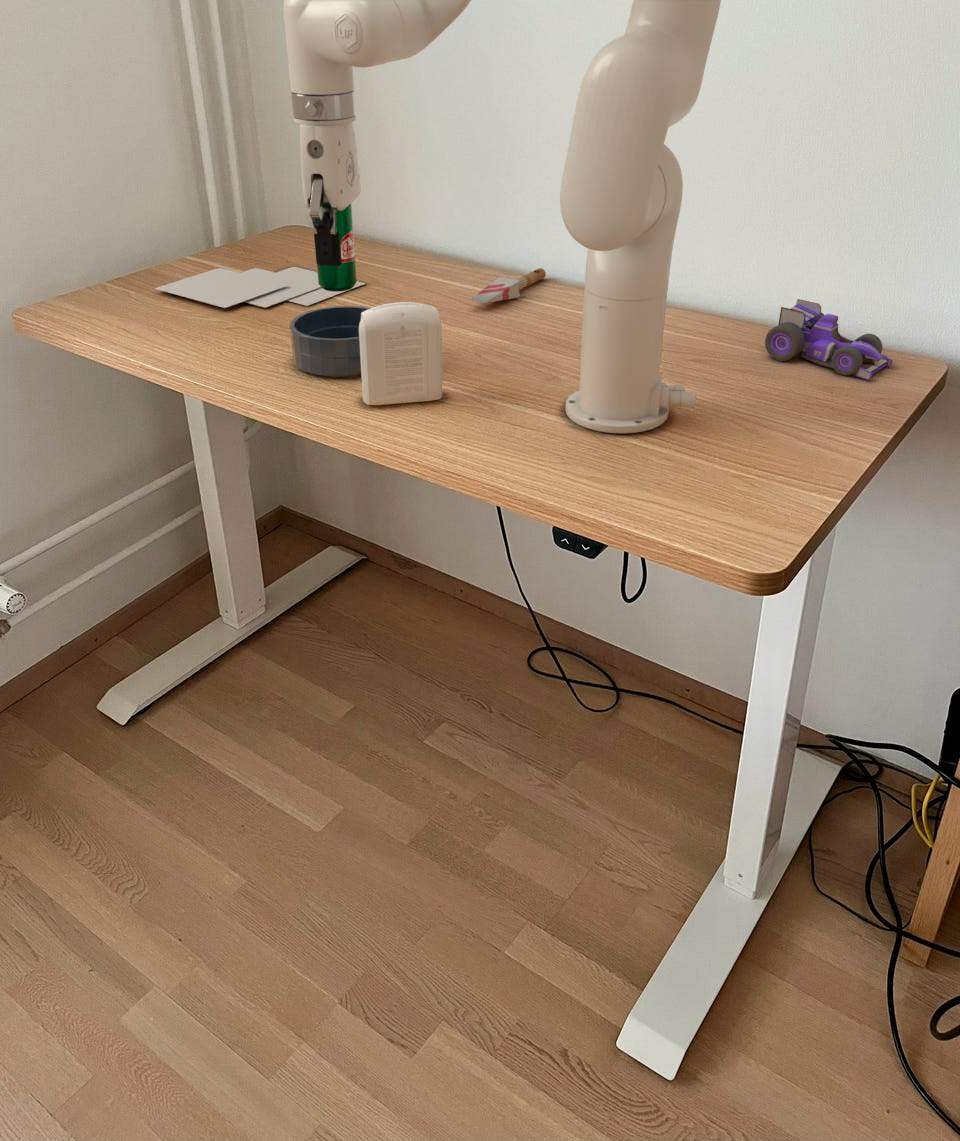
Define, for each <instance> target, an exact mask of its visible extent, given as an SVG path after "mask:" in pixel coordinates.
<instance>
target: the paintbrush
mask: <svg viewBox="0 0 960 1141" xmlns="http://www.w3.org/2000/svg"><path fill="white" fill-rule="evenodd" d="M546 276H547V273H546V270H545V269H544V268H541V267H539V268H536V269H534V270H533V271H530V272H528V273H525V274H523V275H520V276H518V277H515V278H511V277H505V276H502V275H501V276H499V277H497V278H496V279H495V280H494V281H492V282H491V283H490V284H488V285H487V286H486V287H485V288H483V289H482V290H480V291H479V292H478V293H476V294H475V295H474V296H473V297H471V298H470V299H469V300H470V301H474V302H479V303H483V304H486V303H493V302H499V301H505V300H512V299H518V298H521V294H520V290H521V289H523V288H525V287H528V286H531V285H532V284H534V283H537V282H538V281H541V280H543V279H545V278H546Z"/></svg>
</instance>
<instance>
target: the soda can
mask: <svg viewBox="0 0 960 1141" xmlns="http://www.w3.org/2000/svg"><path fill="white" fill-rule="evenodd" d="M323 208H331V205H330V203H323ZM324 216H327V217H328V219H329V221H330V213H324ZM353 222H354V220H353V206H352V203H351V204H350V205H349V206H347V207H346V208H345V209H344V210H342V211H339V210H338V209H337V233H340V245H341V259H342V264H341V265H340V266H322V265H318V264H317V262H316V261H315V262H316V263H315V264H316V272H317V275H318V284H319V285H320V286H321V288H323V289H324V290H327V291H334V292H338V291H345V292H347V291H346V290H348V291H350V290H352V289H351V288H353V287H354V286H355V284H356V282H357V280H358V279H357V266H356V265H357V264H356V253H355V237H354V223H353ZM313 241H314V242H315V240H313ZM314 251H315V250H314ZM315 253H316V251H315ZM349 289H350V290H349ZM353 289H354V288H353Z"/></svg>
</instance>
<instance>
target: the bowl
mask: <svg viewBox="0 0 960 1141" xmlns="http://www.w3.org/2000/svg"><path fill="white" fill-rule="evenodd" d="M371 308H372V307H367V306H366V307H365V306H357V305H339V306H336V305H335V306H328V307H327V306H326V307H320V308H316V309H311V310H308V311H306V312H303V313H301V314H299V315H296V316H295V317H293V319H292V320H291V321H290V322H289V331H290V342H291V350H292V360H293V364H294V365H295V366H296V367H297V368H298V369H300V370H302V371H303V372H307V373H309V374H312V375H317V376H321V377H330V378H348V377H357V376H361V359H360V342H359V324H360V321H361V313H362V312H364V311H366V310H368V309H371Z"/></svg>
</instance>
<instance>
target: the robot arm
mask: <svg viewBox="0 0 960 1141" xmlns="http://www.w3.org/2000/svg"><path fill="white" fill-rule="evenodd" d="M471 1H472V0H283V4H282V10H283V22H284V24H283V25H284V33H285V43H286V54H287V65H288V66H287V67H288V75H289V85H290V87H289V88H290V96H291V106H292V107H291V108H292V118H293V122H294V123H295V124H298V125H299V146H300V148H299V149H300V169H301V184H302V192H303V200H304V205H305V206H306V207H307V208H308V209H309V212H308V213H309V218H310V219H311V223H312V233H313V237H314V240H315V241H314V240H313V241H314V251H316V252H315V262H317V264H318V265H322V266H340V265H341V264H342V259H341V245H340V233H337V209H338V210H339V211H342V210H344V209H345V208H346V207H347V206H349V205H350V204H351V205H352V203H353V202H355V200H357V198H358V197H359V196H360V194H361V179H360V168H359V158H358V150H357V143H356V135H355V128H354V122H355V121H357V120H356V118H357V117H356V116H357V115H356V102H355V87H354V86H355V85H354V72H353V70H354V69H353V67H354V68H371V67H376V66H381V65H384V64H387V63H391V62H396V61H401V60H407V59H409V58H412V57H414V56H415V55H418V54H419V53H420V52H422V51H424V50H425V49H426V48H427V47H428V46H429V45H431V44H432V43H433V42H434V41H435V40H436V39H437V38H438V37H439V36H440V35H441V34H442V33H443V32H444V31H446V30H447V29H448V27H450V25H452V24H453V23H454V22H455V21H456V20H457V19H458V18H459V16H461V15H462V13H463V12H464V11H465V9H466V8H467V7H468V6H469V5H470V3H471ZM721 3H722V0H633V2H632V5H631V10H630V13H629V18H628V20H627V25H626V28H625V31H624V34H623V35H621V36H618V37H616V38H614V39H612V40H611V41H610V42H608V43H606V44H605V45H604V46H603V47H602V48H600V49H599V50H598V52H596V54H595V56H594V57H593V58H592V59H591V61H590V63H589V65H588V67H587V69H586V71H585V73H584V76H583V78H582V81H581V84H580V87H579V91H578V95H577V100H576V105H575V110H574V115H573V121H572V126H571V131H570V135H569V140H568V146H567V150H566V155H565V156H566V157H565V161H564V162H565V163H564V167H563V172H562V178H561V184H560V193H559V206H560V214H561V218H562V222H563V223H564V227H565V229H566V230H567V232H568V233H569V235H570V236H571V237H572V238H573V239H574V241H576V242H577V243H578V244H579V245H581V246H583V247H584V248H586V249H587V254H586V262H585V275H584V288H583V304H582V305H583V306H582V326H581V342H580V344H581V347H580V364H579V365H580V366H579V381H578V382H579V384H578V390H576V391H575V392H573V393H571V394H570V395H569V396H568V397H567V399H566V401H565V414H566V416H567V417H568V418H569V419H570V420H571V421H572V422H573V423H575V424H576V425H578V426H581V427H583V428H585V429H589V430H592V431H595V432H601V433H607V434H635V433H636V434H637V433H642V432H646V431H647V432H648V431H650V430H653V429H655V428H658V427H659V426H662V425H663V424H664V423H665V422H666V421H667V420H668V417H669V412H670V410H669V409H670V407H679V408H688V409H695V407H696V402H697V401H696V400H697V392H696V391H686V385H682V384H675V385H674V384H672V385H670V384H667V382H663V381H662V378H663V377H662V376H663V374H662V372H661V362H662V351H663V342H664V341H663V340H664V332H665V331H664V330H665V320H666V310H667V298H668V291H669V284H670V283H669V282H670V273H671V263H672V255H673V250H674V243H675V237H676V231H677V228H678V227H677V226H678V222H679V219H680V218H679V217H680V214H681V213H680V212H681V206H682V200H683V191H684V190H683V188H684V182H683V181H684V180H683V174H682V173H683V172H682V170H681V166H680V163H679V161H678V159H677V157H676V156H675V154H674V152H673V151H672V150H671V149H670V148H669V147H668V146H667V145H666V144H665V141H666V137H667V133H668V130H669V128H670V127H672V126H674V125H676V124H677V123H679V122H680V121H681V120H683V119H684V118H685V117H686V116H687V115H688V114H689V113H690V112H691V110H692V109H693V107H694V106H695V105H696V103H697V101H698V97H699V95H700V92H701V87H702V84H703V79H704V75H705V69H706V65H707V61H708V56H709V54H710V48H711V44H712V41H713V37H714V33H715V29H716V25H717V20H718V18H719V13H720V8H721ZM323 203H330V205H331V208H323ZM324 213H330V221H329V219H328V217H327V216H324ZM317 264H316V265H317Z"/></svg>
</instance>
